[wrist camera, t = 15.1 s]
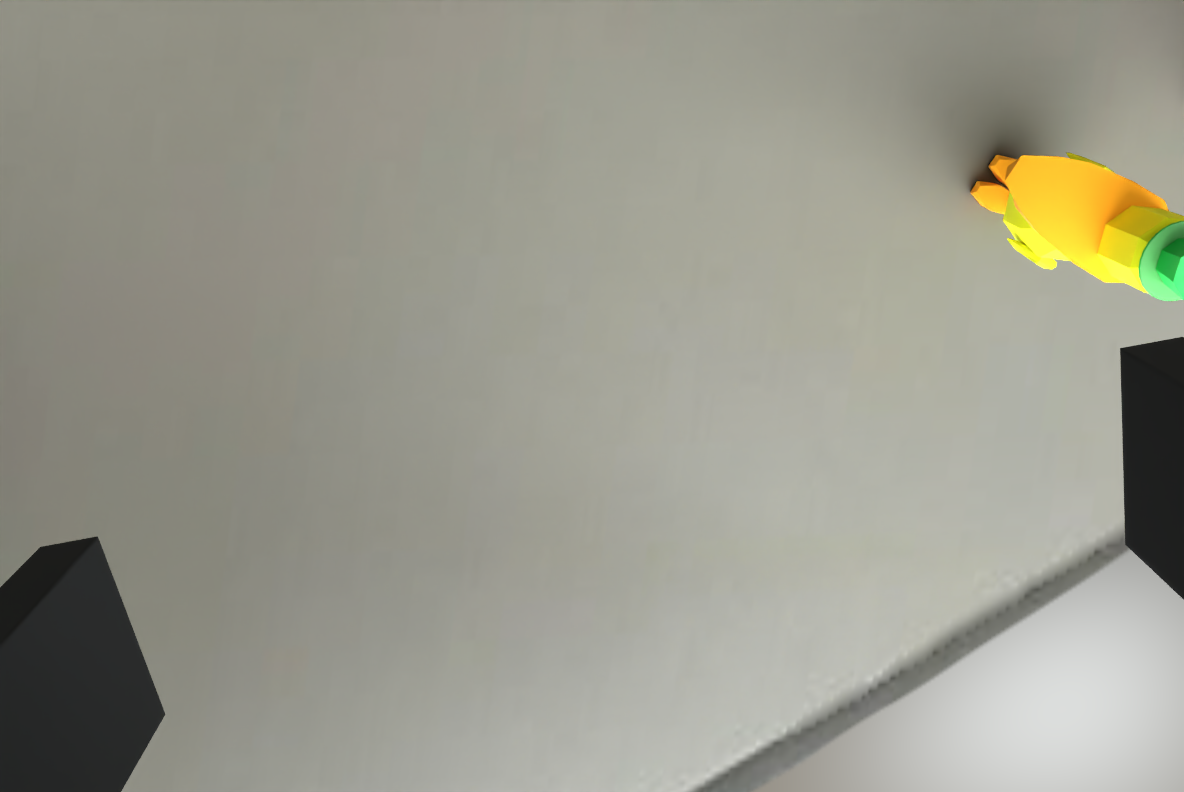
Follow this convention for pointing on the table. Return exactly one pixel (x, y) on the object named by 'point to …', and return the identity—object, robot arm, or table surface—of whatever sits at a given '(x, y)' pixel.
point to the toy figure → (1088, 221)
